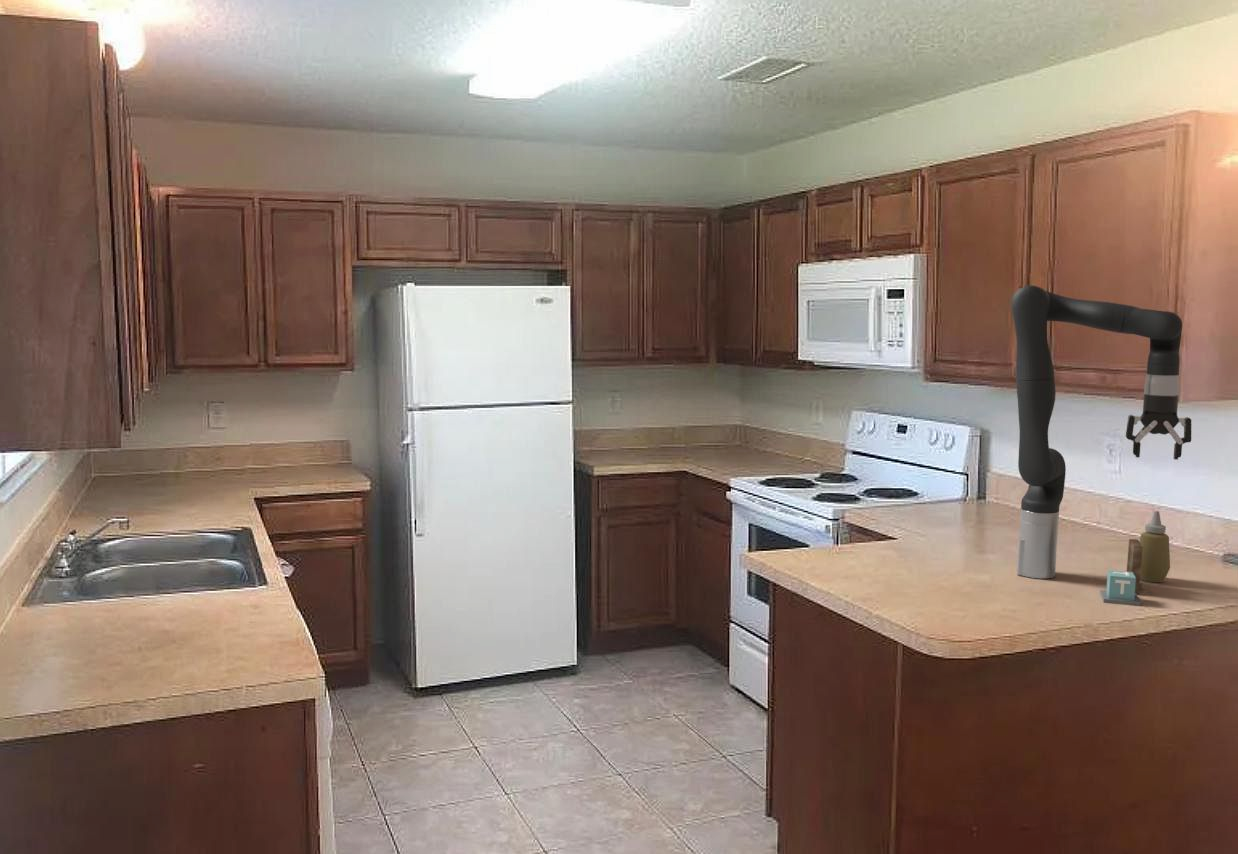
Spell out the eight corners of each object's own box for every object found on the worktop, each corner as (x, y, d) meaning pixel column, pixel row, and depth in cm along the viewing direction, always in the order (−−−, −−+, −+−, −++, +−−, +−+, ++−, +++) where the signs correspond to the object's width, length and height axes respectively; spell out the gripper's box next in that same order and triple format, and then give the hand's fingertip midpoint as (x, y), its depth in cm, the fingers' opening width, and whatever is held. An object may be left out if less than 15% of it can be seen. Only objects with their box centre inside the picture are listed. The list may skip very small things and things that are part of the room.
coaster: (1103, 602, 248) (1103, 598, 248) (1099, 593, 255) (1100, 590, 255) (1140, 605, 245) (1140, 602, 245) (1135, 596, 253) (1135, 593, 253)
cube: (1108, 598, 248) (1110, 575, 247) (1106, 591, 253) (1107, 569, 253) (1134, 600, 246) (1136, 577, 246) (1131, 594, 252) (1132, 571, 251)
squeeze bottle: (1158, 575, 272) (1163, 508, 269) (1175, 584, 264) (1181, 514, 261) (1127, 575, 271) (1132, 508, 269) (1144, 584, 263) (1149, 514, 261)
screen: (1123, 593, 255) (1126, 545, 254) (1119, 584, 263) (1122, 538, 261) (1145, 595, 254) (1149, 547, 252) (1141, 586, 261) (1144, 540, 260)
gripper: (1131, 393, 254) (1126, 458, 256) (1196, 395, 249) (1191, 462, 251) (1127, 390, 261) (1123, 454, 263) (1191, 392, 256) (1186, 457, 258)
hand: (1156, 458), depth 257 cm, fingers open, 8 cm apart
